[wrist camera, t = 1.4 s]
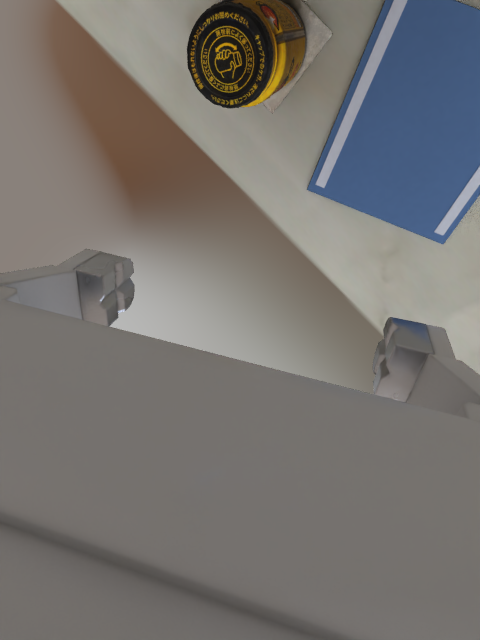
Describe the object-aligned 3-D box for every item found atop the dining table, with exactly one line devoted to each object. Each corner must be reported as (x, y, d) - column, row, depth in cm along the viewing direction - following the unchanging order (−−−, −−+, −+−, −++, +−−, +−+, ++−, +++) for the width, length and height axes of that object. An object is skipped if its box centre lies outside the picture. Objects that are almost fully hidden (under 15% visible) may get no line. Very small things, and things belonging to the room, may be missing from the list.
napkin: (394, -23, 28) (394, -23, 27) (583, 49, 27) (585, 50, 27) (307, 188, 38) (306, 190, 38) (442, 243, 37) (443, 245, 37)
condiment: (273, 113, 35) (236, 147, 26) (198, 41, 33) (130, 49, 24) (333, 33, 30) (314, 39, 21) (250, -56, 29) (191, -91, 19)
